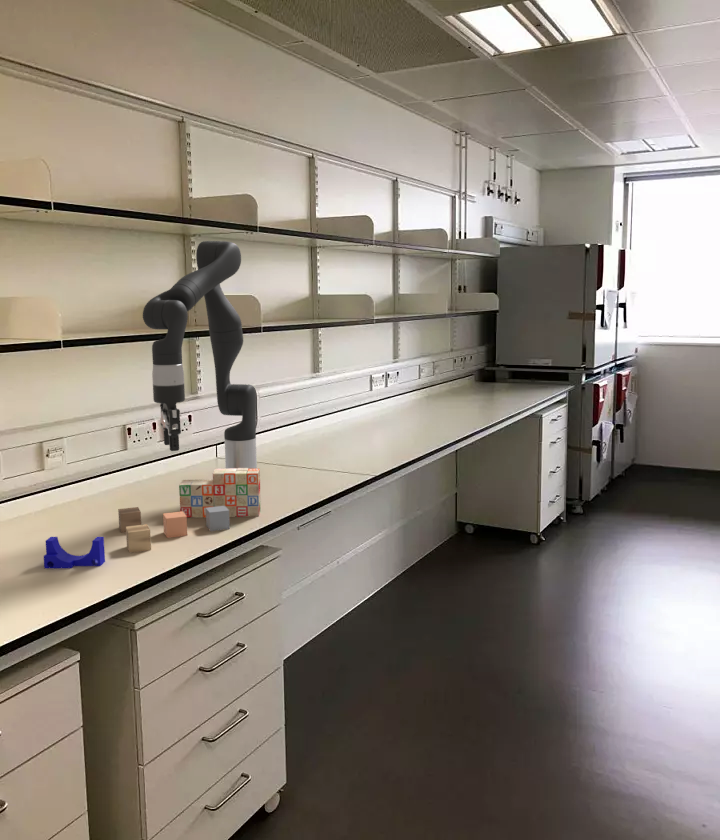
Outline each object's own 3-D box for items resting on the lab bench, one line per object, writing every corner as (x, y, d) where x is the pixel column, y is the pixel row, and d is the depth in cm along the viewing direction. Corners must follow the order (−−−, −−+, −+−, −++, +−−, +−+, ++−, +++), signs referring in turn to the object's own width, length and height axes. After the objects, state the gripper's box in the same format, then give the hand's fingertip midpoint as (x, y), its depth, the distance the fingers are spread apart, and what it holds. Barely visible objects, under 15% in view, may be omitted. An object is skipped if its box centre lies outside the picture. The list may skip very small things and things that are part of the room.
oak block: (126, 546, 190) (125, 526, 189) (148, 544, 192) (147, 524, 191) (129, 553, 186) (128, 532, 185) (151, 550, 188) (150, 529, 187)
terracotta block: (163, 532, 201) (163, 513, 201) (183, 530, 203) (182, 511, 202) (167, 538, 197) (166, 518, 196) (187, 535, 199) (186, 516, 198)
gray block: (206, 526, 206) (205, 507, 206) (225, 524, 208) (224, 505, 208) (210, 531, 202) (209, 512, 201) (229, 529, 204) (229, 510, 203)
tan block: (119, 527, 206) (118, 509, 205) (139, 525, 208) (138, 506, 207) (121, 533, 201) (120, 514, 200) (141, 530, 203) (140, 511, 202)
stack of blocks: (179, 518, 214) (177, 474, 212) (183, 512, 220) (181, 468, 218) (259, 516, 215) (258, 472, 213) (261, 510, 221) (260, 467, 219)
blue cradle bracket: (44, 569, 176) (42, 543, 175) (52, 562, 180) (50, 536, 179) (98, 569, 175) (96, 543, 174) (105, 562, 180) (103, 536, 179)
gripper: (189, 384, 189) (192, 451, 191) (178, 379, 202) (181, 441, 204) (157, 386, 186) (160, 454, 189) (148, 380, 199) (151, 443, 202)
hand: (171, 447), depth 196 cm, fingers open, 8 cm apart
